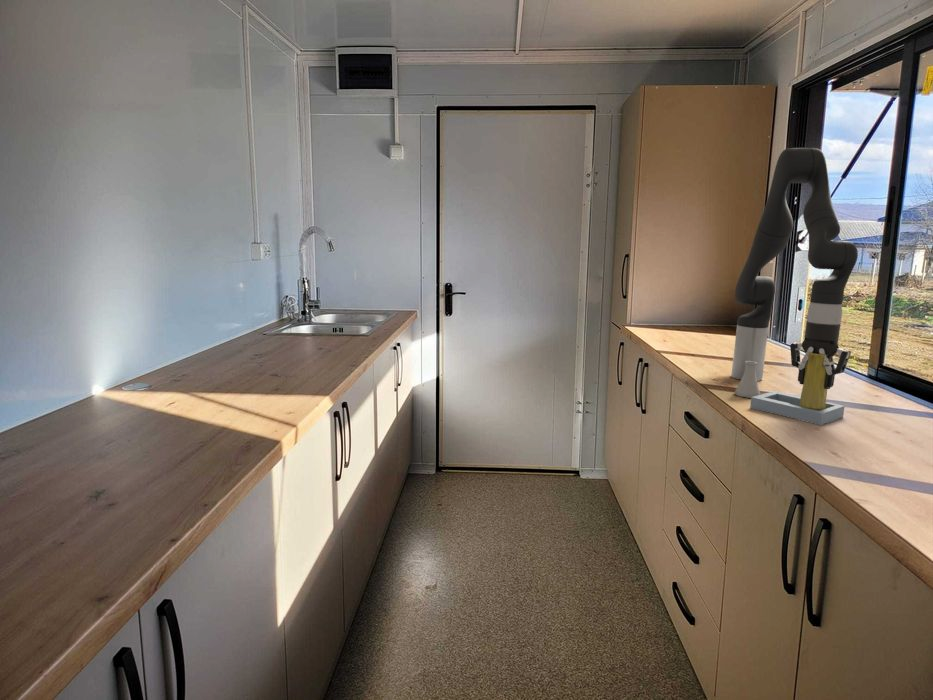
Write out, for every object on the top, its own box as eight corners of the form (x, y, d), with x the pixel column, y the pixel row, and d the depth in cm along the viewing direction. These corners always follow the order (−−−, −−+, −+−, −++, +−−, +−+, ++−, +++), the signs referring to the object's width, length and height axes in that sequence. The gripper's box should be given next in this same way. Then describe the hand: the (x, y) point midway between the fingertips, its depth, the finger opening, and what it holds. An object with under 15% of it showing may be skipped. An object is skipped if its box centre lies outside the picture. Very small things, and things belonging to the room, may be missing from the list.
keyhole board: (773, 401, 174) (775, 390, 173) (843, 417, 160) (844, 405, 159) (750, 407, 166) (751, 397, 165) (820, 425, 152) (822, 413, 152)
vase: (815, 411, 155) (823, 355, 153) (793, 404, 161) (800, 351, 158) (830, 408, 158) (838, 354, 156) (808, 402, 164) (815, 349, 161)
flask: (763, 399, 175) (768, 365, 173) (736, 397, 177) (740, 363, 175) (757, 393, 182) (761, 360, 180) (731, 391, 184) (735, 358, 182)
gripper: (861, 323, 152) (851, 390, 155) (801, 316, 163) (792, 379, 166) (848, 325, 148) (838, 394, 151) (787, 318, 159) (779, 382, 162)
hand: (814, 385), depth 159 cm, fingers closed on vase, 5 cm apart
